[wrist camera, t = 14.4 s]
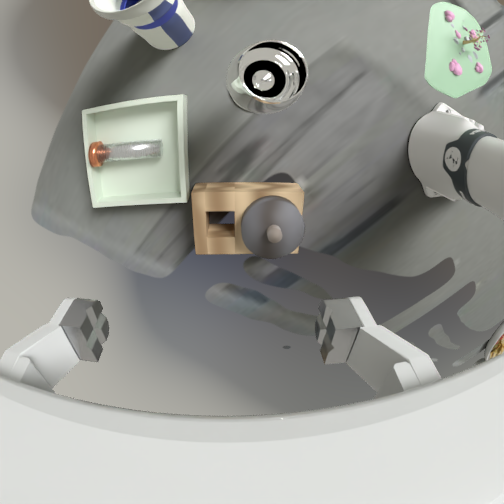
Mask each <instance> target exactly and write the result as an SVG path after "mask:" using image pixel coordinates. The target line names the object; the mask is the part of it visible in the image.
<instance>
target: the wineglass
mask: <svg viewBox="0 0 504 504" xmlns="http://www.w3.org/2000/svg"><path fill="white" fill-rule="evenodd" d="M307 80H308V66H307V62H306V60H305V58H304V56H303V55H302V54H301V53H300V51H298V50H297V49H296V48H295V47H294V46H292V45H290V44H288V43H286V42H283V41H278V40H266V41H261V42H257V43H254V44H251V45H249V46H247V47H245V48H244V49H242V50H241V51H239V52H238V53H237V54H236V55H235V56H234V58H233V59H232V61H231V62H230V64H229V67H228V69H227V75H226V85H227V88H228V91H229V93H230V95H231V97H232V99H233V101H234V102H235V103H236V104H237V105H238V106H239V107H241V108H243V109H245V110H248V111H250V112H253V113H257V114H273V113H278V112H280V111H283V110H285V109H287V108H289V107H290V106H292V105H293V104H294V103H295V102H296V101H297V100H298V99H299V98H300V96H301V95H302V93H303V91H304V89H305V86H306V84H307Z"/></svg>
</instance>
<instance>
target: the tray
mask: <svg viewBox="0 0 504 504" xmlns="http://www.w3.org/2000/svg"><path fill="white" fill-rule="evenodd" d="M82 123H83V137H84V148H85V157H86V166H87V173H88V180H89V187H90V193H91V199H92V204H93V208H98V207H111V206H126V205H143V204H164V203H187V201H188V199H189V197H190V183H189V162H188V129H187V95H171V96H161V97H153V98H145V99H138V100H132V101H125V102H120V103H114V104H109V105H104V106H99V107H95V108H90V109H86V110H82ZM152 139H162V142H163V154H162V157H158V158H143V159H131V160H120V161H110V162H104V163H103V165H102V166H100V167H92V166H91V165H90V163H89V158H88V151H89V147H90V144H91V143H92V142H98V141H101V142H102V143H103V145H104V144H111V143H120V142H129V141H140V140H152Z"/></svg>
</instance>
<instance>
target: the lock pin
mask: <svg viewBox="0 0 504 504" xmlns="http://www.w3.org/2000/svg"><path fill="white" fill-rule="evenodd" d="M162 154H163V142H162V139H152V140H140V141H129V142H120V143H111V144H104V145H103V143H102V142H101V141H98V142H92V143H91V144H90V147H89V151H88V158H89V163H90V165H91V166H92V167H100V166H102V165H103V163H104V162H110V161H120V160H131V159H143V158H158V157H162Z"/></svg>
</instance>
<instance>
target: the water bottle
mask: <svg viewBox="0 0 504 504" xmlns="http://www.w3.org/2000/svg"><path fill="white" fill-rule="evenodd" d="M89 3H90V5H91V7H92V9H93V10H94V11H95V12H96V13H97V14H98V15H100V16H101V17H103V18H106V19H110V20H119V21H120V22H121V23H122V24H124V25H127V26H130V27H131V28H132V30H133V31H134V32H136V33H137V34H138V35H140V36H141V37H142V38H144V39H145V40H146V41H147V42H148V43H149V44H150V45H151V46H153V47H154V48H157V49H161V50H170V49H174V48H177V47H179V46H181V45H183V44H184V43H185V42H187V41H188V40H189V39H190V37H191V36H192V34H193V32H194V29H195V21H194V18H193V16H192V15H191V13H190V12H189V11H188V9H187V8H186V6H185V4H184V2H183V1H182V0H89Z"/></svg>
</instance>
